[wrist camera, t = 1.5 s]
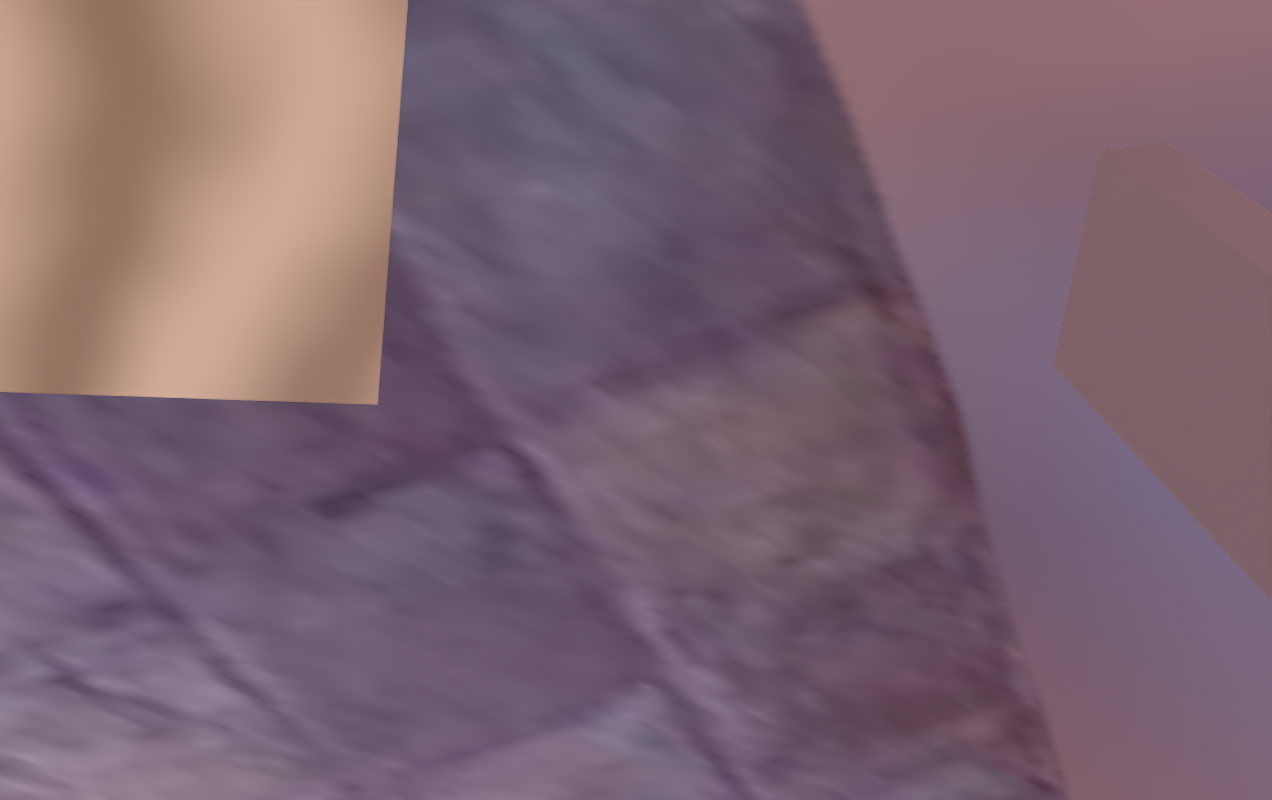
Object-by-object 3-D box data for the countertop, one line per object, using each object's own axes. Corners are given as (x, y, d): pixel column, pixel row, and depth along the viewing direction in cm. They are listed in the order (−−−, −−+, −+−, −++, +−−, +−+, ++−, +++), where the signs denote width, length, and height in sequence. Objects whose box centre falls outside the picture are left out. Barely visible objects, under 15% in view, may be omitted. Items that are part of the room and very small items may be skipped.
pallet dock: (-158, 303, 31) (-215, 384, 28) (-260, -185, 25) (-348, -152, 22) (373, 330, 35) (377, 404, 32) (402, -88, 29) (411, -48, 26)
